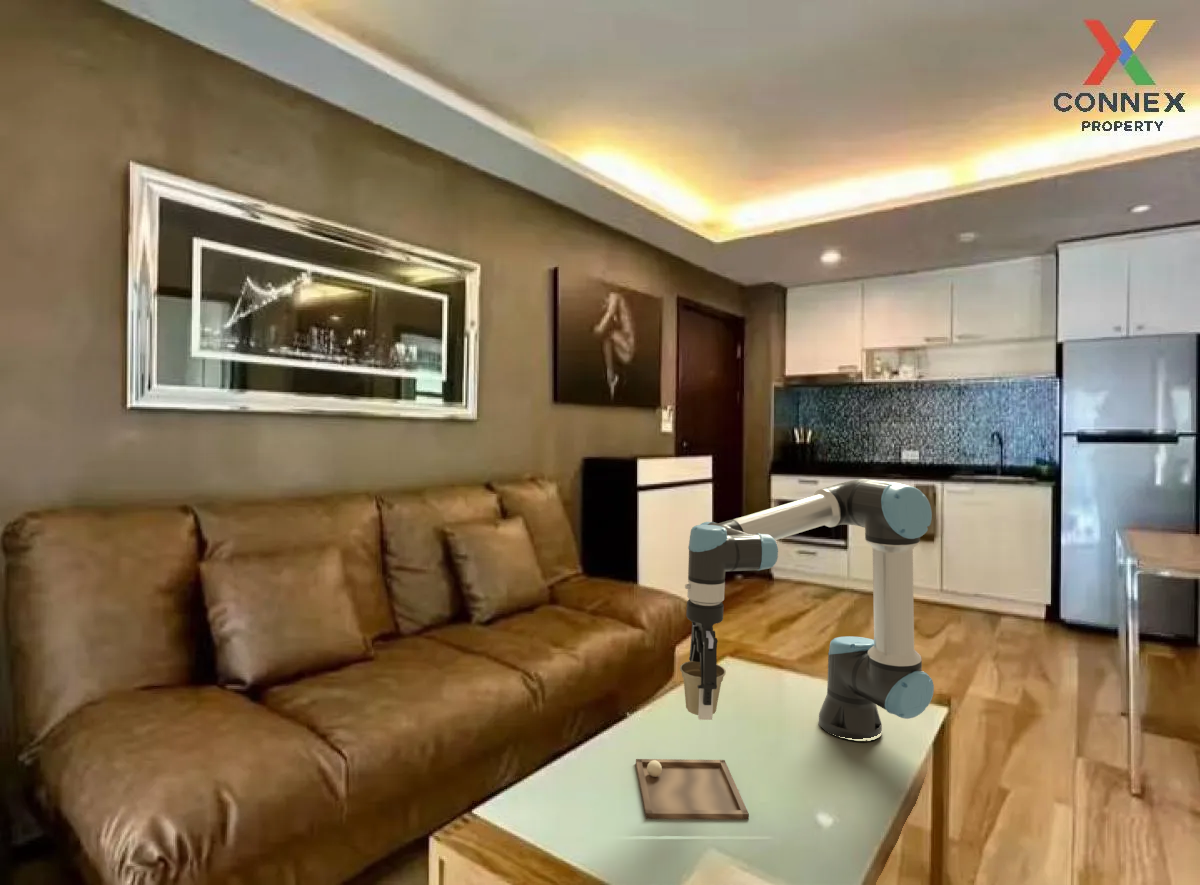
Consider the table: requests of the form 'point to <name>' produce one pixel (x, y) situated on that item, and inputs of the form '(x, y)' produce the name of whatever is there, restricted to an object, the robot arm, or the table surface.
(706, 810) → the tray
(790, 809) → the table surface
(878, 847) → the table surface
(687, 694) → the flower pot
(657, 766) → the cream white ball
